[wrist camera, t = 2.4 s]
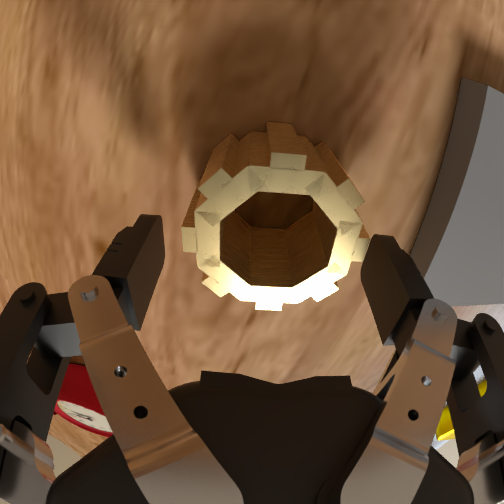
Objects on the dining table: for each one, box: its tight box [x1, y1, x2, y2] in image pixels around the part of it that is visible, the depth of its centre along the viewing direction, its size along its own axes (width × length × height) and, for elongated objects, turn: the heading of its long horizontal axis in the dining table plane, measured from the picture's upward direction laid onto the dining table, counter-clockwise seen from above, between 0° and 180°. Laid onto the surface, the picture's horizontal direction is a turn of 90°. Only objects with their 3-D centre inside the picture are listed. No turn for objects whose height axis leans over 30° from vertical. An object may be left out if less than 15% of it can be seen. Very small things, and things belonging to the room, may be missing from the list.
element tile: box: [435, 380, 487, 440], centre depth 29 cm, size 15×15×5 cm
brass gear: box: [181, 122, 370, 310], centre depth 12 cm, size 6×6×4 cm
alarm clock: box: [53, 363, 113, 437], centre depth 24 cm, size 10×6×15 cm
